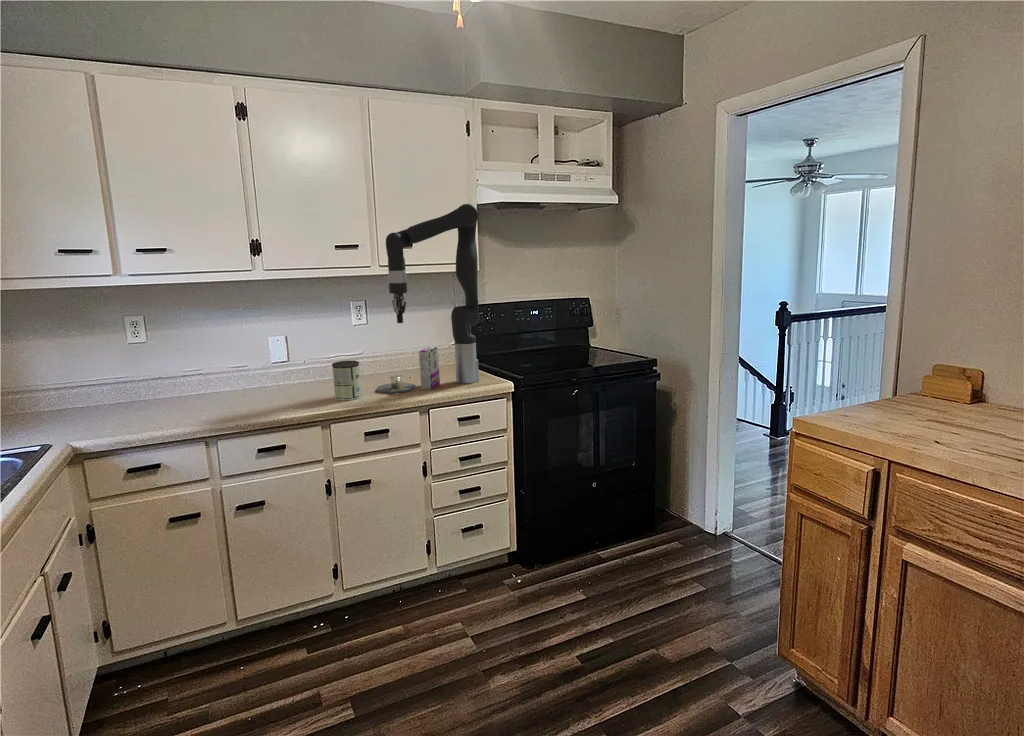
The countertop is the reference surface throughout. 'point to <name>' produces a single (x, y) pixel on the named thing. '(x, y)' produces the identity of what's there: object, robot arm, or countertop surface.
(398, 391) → the dial plate
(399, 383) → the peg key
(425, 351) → the candy bar box
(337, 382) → the coffee can
